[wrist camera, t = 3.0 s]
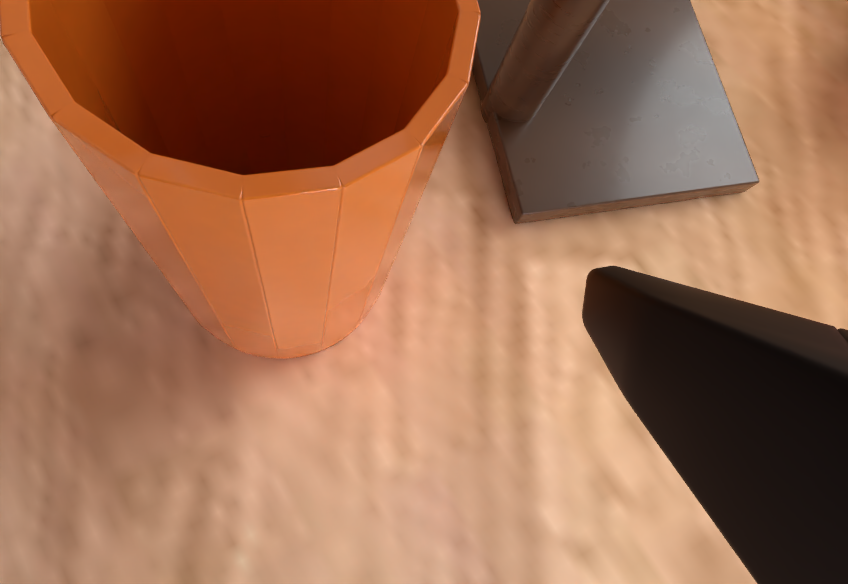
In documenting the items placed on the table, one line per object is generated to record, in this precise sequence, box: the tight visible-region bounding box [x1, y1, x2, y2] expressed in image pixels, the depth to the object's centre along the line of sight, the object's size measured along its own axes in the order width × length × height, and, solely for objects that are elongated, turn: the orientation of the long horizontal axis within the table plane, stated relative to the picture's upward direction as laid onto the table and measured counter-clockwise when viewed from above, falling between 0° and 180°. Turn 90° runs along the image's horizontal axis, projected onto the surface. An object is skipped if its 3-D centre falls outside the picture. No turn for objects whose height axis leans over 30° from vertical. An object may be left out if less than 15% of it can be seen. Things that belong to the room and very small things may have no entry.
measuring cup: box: [0, 0, 481, 358], centre depth 16 cm, size 11×7×13 cm, turn 12°
